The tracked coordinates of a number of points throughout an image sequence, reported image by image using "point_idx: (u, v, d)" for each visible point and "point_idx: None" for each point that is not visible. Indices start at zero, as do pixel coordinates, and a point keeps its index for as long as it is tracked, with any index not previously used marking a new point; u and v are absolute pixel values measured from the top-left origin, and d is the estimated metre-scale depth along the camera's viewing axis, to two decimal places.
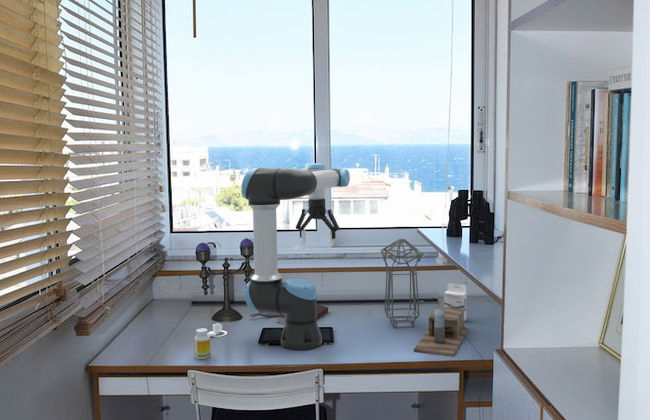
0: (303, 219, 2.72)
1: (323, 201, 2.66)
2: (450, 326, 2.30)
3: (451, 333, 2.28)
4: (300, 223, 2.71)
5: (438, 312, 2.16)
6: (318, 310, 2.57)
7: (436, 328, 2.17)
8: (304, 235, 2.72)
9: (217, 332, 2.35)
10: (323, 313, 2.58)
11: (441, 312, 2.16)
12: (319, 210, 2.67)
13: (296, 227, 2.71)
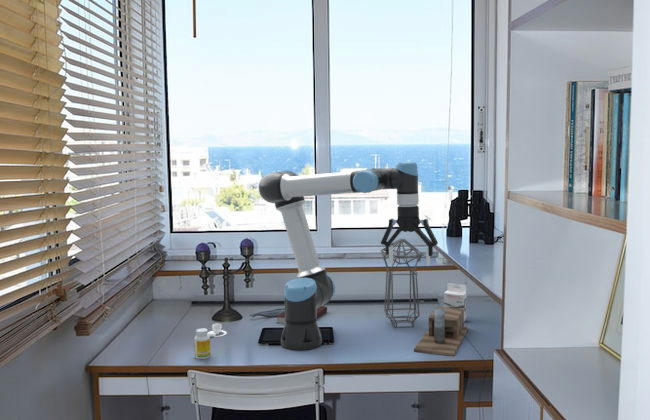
0: None
1: (417, 209, 2.12)
2: (450, 326, 2.30)
3: (451, 333, 2.28)
4: (387, 237, 2.18)
5: (438, 312, 2.16)
6: (317, 310, 2.57)
7: (436, 328, 2.17)
8: (392, 252, 2.19)
9: (217, 332, 2.35)
10: (322, 313, 2.59)
11: (441, 312, 2.16)
12: (412, 220, 2.13)
13: (382, 242, 2.18)
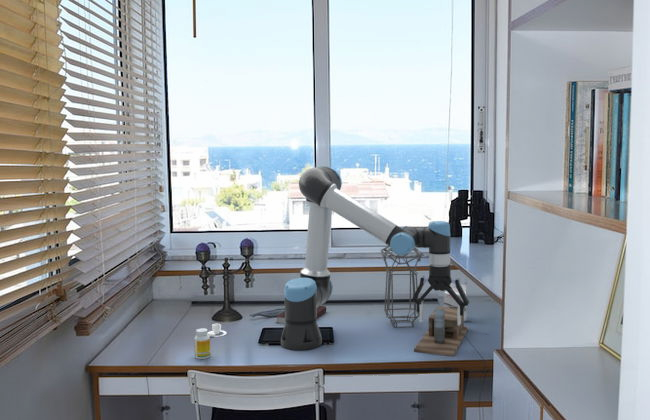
0: None
1: (449, 269, 2.13)
2: (450, 326, 2.30)
3: (451, 333, 2.28)
4: (417, 295, 2.19)
5: (438, 312, 2.16)
6: (317, 310, 2.57)
7: (436, 328, 2.17)
8: (422, 309, 2.20)
9: (216, 332, 2.35)
10: (321, 313, 2.59)
11: (441, 312, 2.16)
12: (443, 280, 2.14)
13: (412, 300, 2.19)
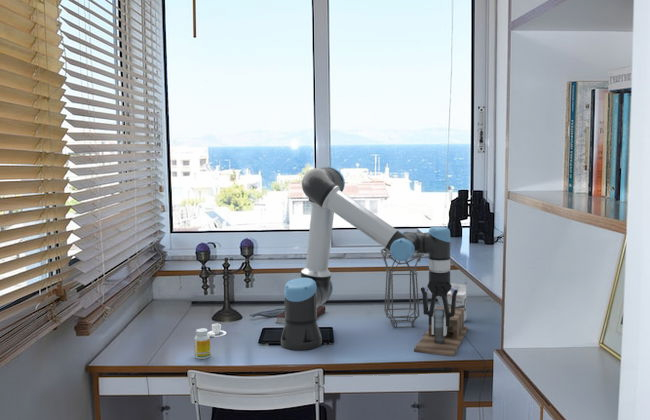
0: (427, 299, 2.19)
1: (449, 275, 2.14)
2: (451, 326, 2.30)
3: (451, 333, 2.28)
4: (426, 305, 2.18)
5: (438, 312, 2.16)
6: None
7: (436, 328, 2.17)
8: None
9: (216, 332, 2.35)
10: (321, 312, 2.59)
11: (441, 312, 2.16)
12: (444, 284, 2.14)
13: (424, 312, 2.18)
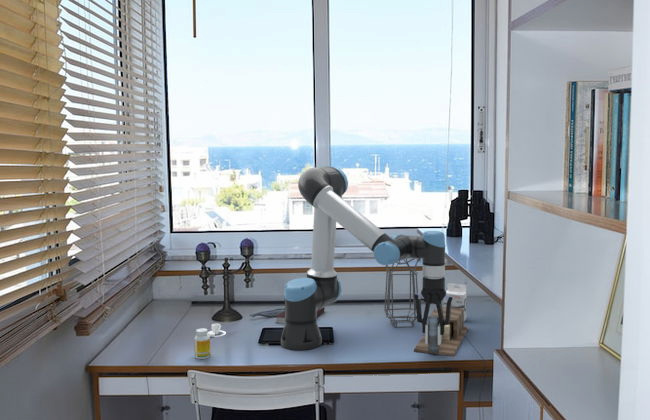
0: None
1: (443, 281, 2.04)
2: (445, 334, 2.21)
3: None
4: (420, 313, 2.09)
5: (432, 320, 2.07)
6: None
7: (430, 336, 2.08)
8: None
9: (216, 332, 2.35)
10: (320, 312, 2.60)
11: (435, 320, 2.06)
12: (438, 291, 2.05)
13: (418, 320, 2.08)
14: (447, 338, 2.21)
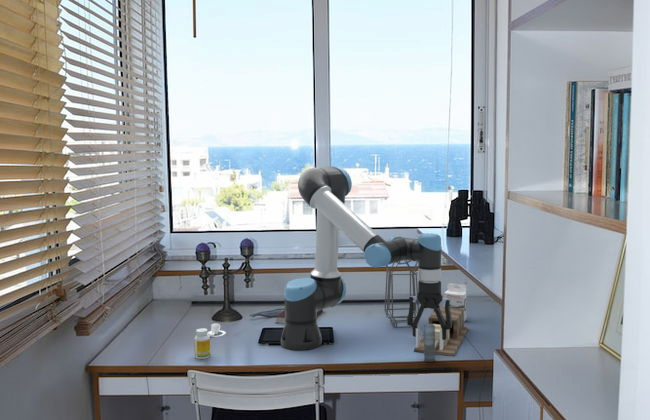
0: (413, 310, 2.04)
1: (439, 285, 1.98)
2: None
3: (451, 333, 2.28)
4: (412, 316, 2.03)
5: (428, 329, 2.00)
6: None
7: (426, 345, 2.01)
8: (419, 333, 2.04)
9: (215, 332, 2.35)
10: (319, 312, 2.60)
11: (431, 329, 2.00)
12: (434, 296, 1.99)
13: (408, 323, 2.03)
14: (444, 344, 2.15)
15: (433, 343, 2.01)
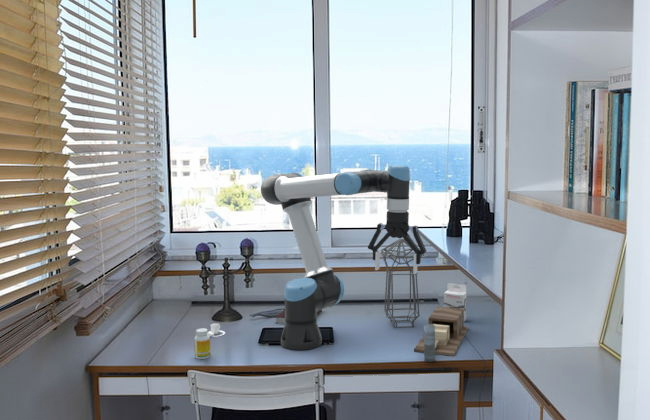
0: None
1: (407, 215, 2.05)
2: (442, 339, 2.15)
3: (451, 333, 2.28)
4: (374, 242, 2.11)
5: (428, 329, 2.00)
6: None
7: (426, 345, 2.01)
8: (378, 257, 2.12)
9: (215, 332, 2.35)
10: (318, 312, 2.61)
11: (431, 329, 2.00)
12: (401, 226, 2.06)
13: (369, 247, 2.11)
14: (444, 344, 2.15)
15: (433, 343, 2.01)
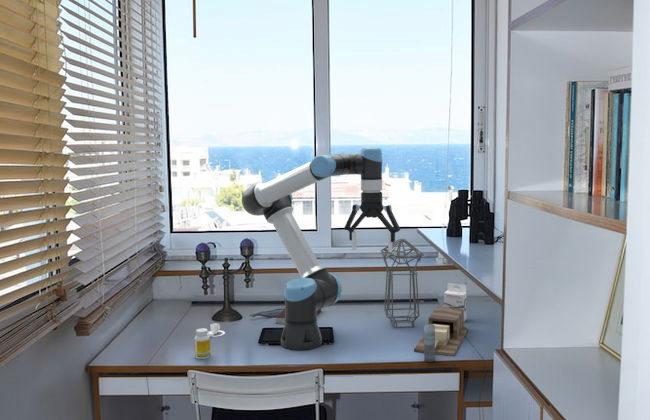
0: (353, 217, 2.19)
1: (380, 195, 2.13)
2: (442, 339, 2.15)
3: (451, 333, 2.28)
4: (350, 222, 2.18)
5: (428, 329, 2.00)
6: None
7: (426, 345, 2.01)
8: (355, 237, 2.19)
9: (215, 332, 2.35)
10: (318, 312, 2.61)
11: (431, 329, 2.00)
12: (375, 206, 2.14)
13: (345, 227, 2.18)
14: (444, 344, 2.15)
15: (433, 343, 2.01)
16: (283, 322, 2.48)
